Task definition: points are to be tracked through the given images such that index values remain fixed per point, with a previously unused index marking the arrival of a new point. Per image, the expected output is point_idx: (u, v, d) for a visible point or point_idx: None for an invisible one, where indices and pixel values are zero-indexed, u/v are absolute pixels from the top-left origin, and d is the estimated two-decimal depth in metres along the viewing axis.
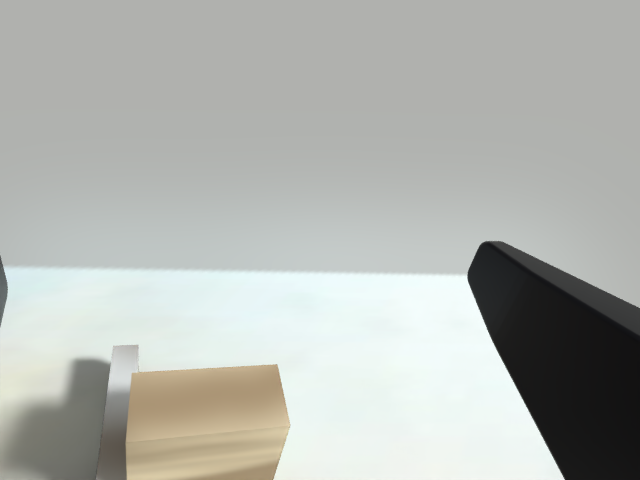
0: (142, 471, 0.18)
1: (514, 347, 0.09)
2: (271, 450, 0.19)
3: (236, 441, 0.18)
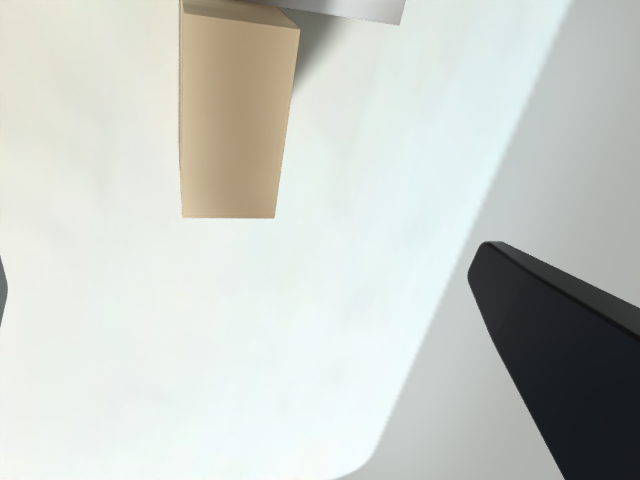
0: None
1: (514, 347, 0.09)
2: None
3: None
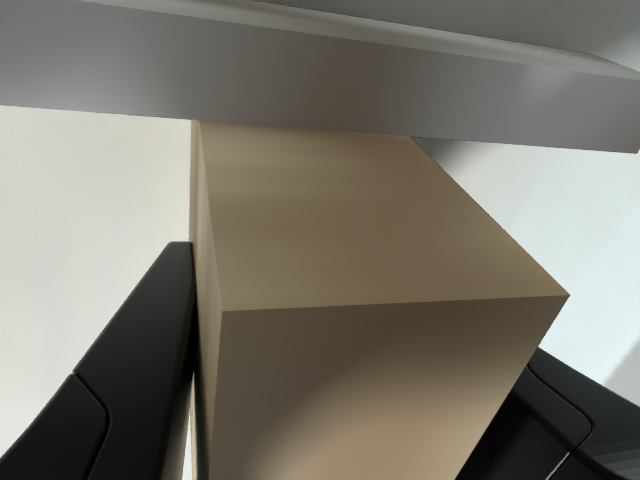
0: (203, 215, 0.05)
1: None
2: None
3: None
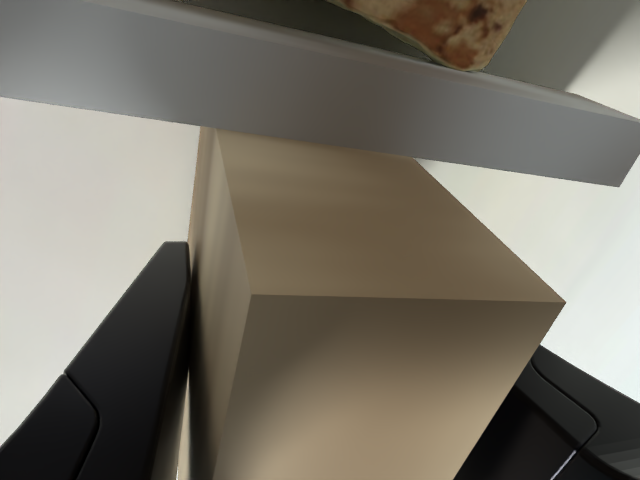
0: (218, 216, 0.05)
1: None
2: None
3: None
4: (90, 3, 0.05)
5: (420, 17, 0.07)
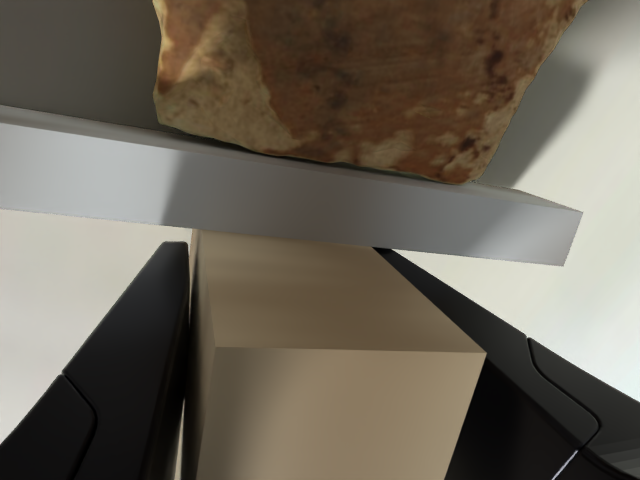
0: (200, 299, 0.06)
1: None
2: None
3: None
4: (103, 139, 0.07)
5: (417, 158, 0.09)
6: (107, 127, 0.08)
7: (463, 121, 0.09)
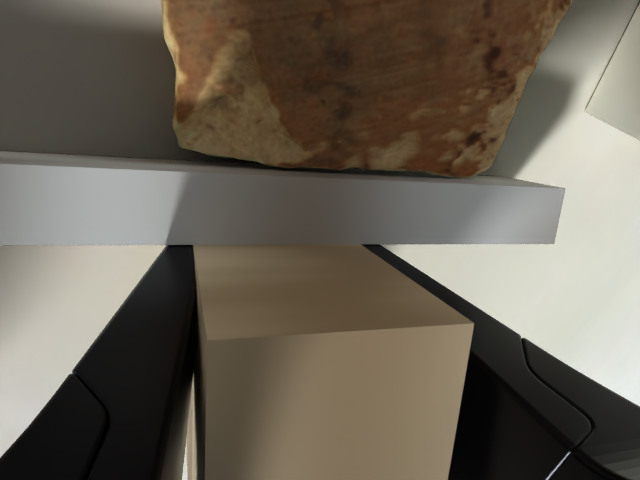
0: (196, 309, 0.06)
1: None
2: None
3: None
4: (90, 168, 0.07)
5: (426, 157, 0.09)
6: (94, 159, 0.08)
7: (467, 117, 0.09)
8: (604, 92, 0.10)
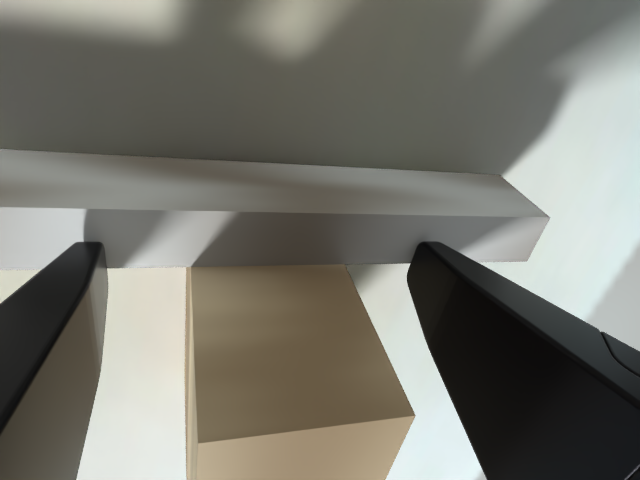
0: (192, 345, 0.08)
1: (446, 353, 0.08)
2: None
3: None
4: (93, 210, 0.07)
5: None
6: (95, 170, 0.08)
7: None
8: None
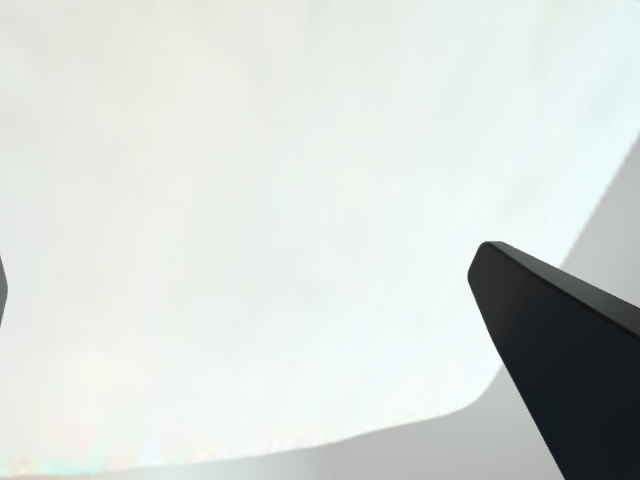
0: None
1: (514, 347, 0.09)
2: None
3: None
4: None
5: None
6: None
7: None
8: None
